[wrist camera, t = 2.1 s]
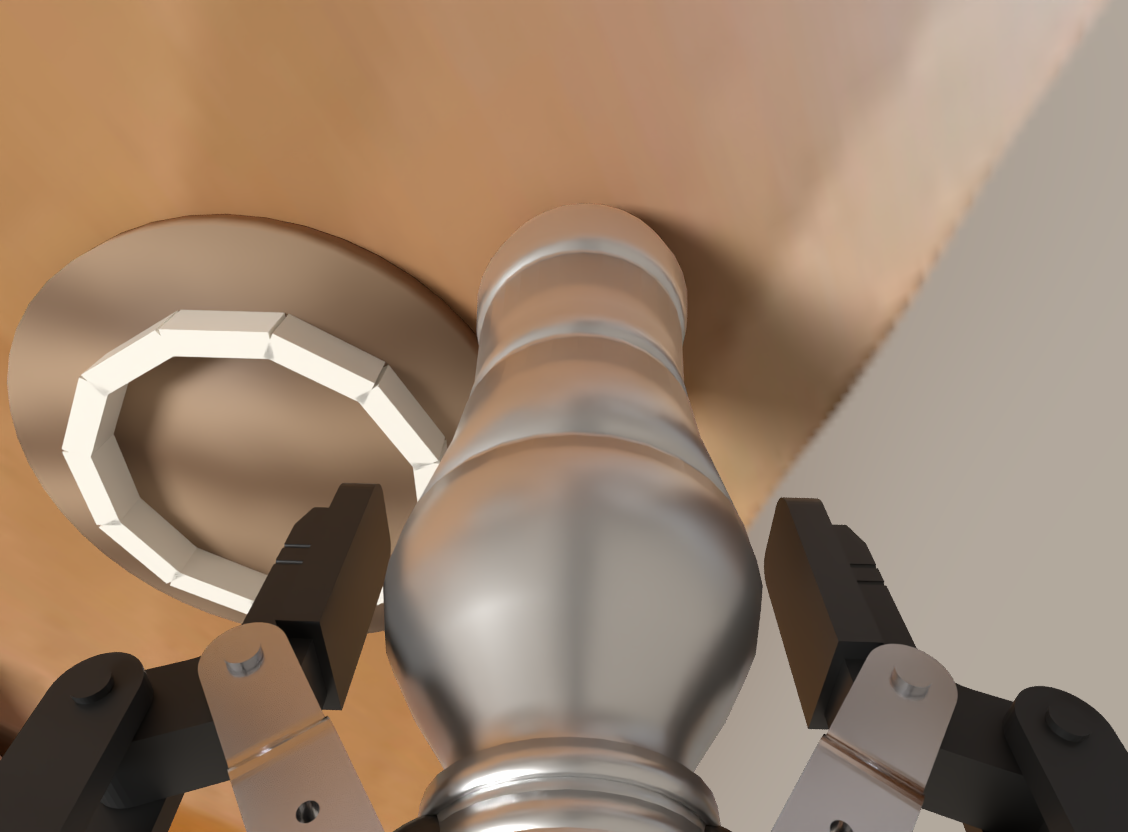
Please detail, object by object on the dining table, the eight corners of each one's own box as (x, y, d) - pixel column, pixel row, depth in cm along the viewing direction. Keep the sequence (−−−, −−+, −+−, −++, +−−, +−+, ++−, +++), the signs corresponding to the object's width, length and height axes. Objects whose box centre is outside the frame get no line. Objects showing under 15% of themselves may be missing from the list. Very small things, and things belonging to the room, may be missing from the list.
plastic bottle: (702, 323, 25) (928, 1048, 8) (532, 384, 27) (441, 1094, 10) (641, 151, 22) (812, 775, 5) (452, 233, 24) (126, 908, 7)
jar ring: (32, 305, 24) (1, 325, 23) (435, 316, 24) (426, 336, 23) (155, 587, 32) (138, 612, 31) (461, 597, 32) (455, 623, 30)
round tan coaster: (-69, 206, 24) (-98, 217, 23) (523, 221, 23) (520, 233, 22) (127, 608, 35) (113, 628, 34) (529, 622, 34) (527, 642, 33)
